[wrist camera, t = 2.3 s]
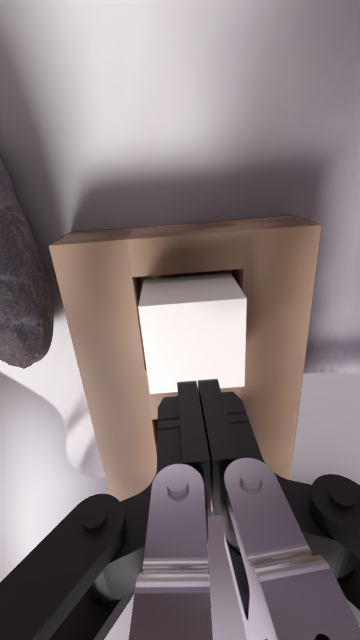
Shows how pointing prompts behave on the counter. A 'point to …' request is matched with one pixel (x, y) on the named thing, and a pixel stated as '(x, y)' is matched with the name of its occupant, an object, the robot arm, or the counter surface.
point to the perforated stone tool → (21, 285)
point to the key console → (126, 337)
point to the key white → (193, 331)
